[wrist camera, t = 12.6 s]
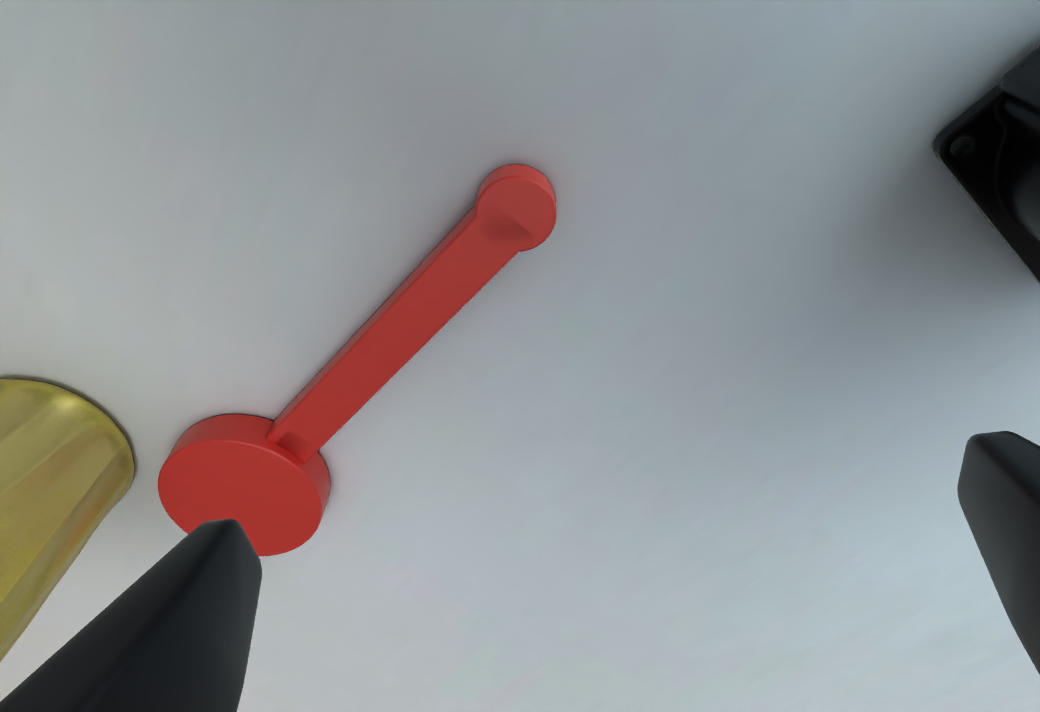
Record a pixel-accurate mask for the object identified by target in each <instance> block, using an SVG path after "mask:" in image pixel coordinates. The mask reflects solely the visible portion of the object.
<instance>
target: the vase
mask: <svg viewBox="0 0 1040 712" xmlns="http://www.w3.org/2000/svg"><path fill="white" fill-rule="evenodd" d="M133 476H134V461H133V456H132V452H131V449H130V446H129V444H128V442H127V440H126V438H125V437H124V435H123V433H122V432H121V431H120V430H119V428H118V427H117V426H116V425H115V423H114V422H113V421H112V420H111V419H110V418H109V417H108V416H107V415H106V414H105V413H103V412H102V411H101V410H100V409H98V408H97V407H96V406H94V405H93V404H91V403H90V402H88V401H87V400H85V399H83V398H81V397H80V396H78V395H76V394H74V393H72V392H70V391H67V390H65V389H63V388H60V387H57V386H54V385H51V384H47V383H43V382H37V381H31V380H18V379H0V662H1V661H2V659H3V658H4V657H5V655H6V654H7V653H8V651H9V650H10V649H11V647H12V646H13V645H14V643H15V642H16V641H17V640H18V638H19V637H20V636H21V634H22V633H23V632H24V630H25V629H26V628H27V626H28V625H29V624H30V622H31V621H32V619H33V618H34V616H35V615H36V614H37V612H38V611H39V609H40V608H41V606H42V605H43V603H44V602H45V600H46V599H47V597H48V596H49V594H50V593H51V591H52V590H53V589H54V587H55V586H56V585H57V583H58V582H59V581H60V579H61V578H62V577H63V575H64V574H65V573H66V571H67V570H68V569H69V567H70V566H71V564H72V563H73V562H74V560H75V559H76V557H77V556H78V555H79V553H80V552H81V550H82V549H83V547H84V546H85V544H86V542H87V541H88V539H89V538H90V537H91V535H92V534H93V532H94V531H95V529H96V528H97V527H98V525H99V524H100V523H101V521H102V520H103V519H104V517H105V516H106V515H107V514H108V513H109V511H110V510H111V509H112V508H113V507H114V506H115V505H116V504H117V503H118V502H119V501H120V500H121V498H122V497H123V496H124V495H125V494H126V492H127V491H128V489H129V487H130V485H131V483H132V481H133Z"/></svg>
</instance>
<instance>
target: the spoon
mask: <svg viewBox="0 0 1040 712" xmlns="http://www.w3.org/2000/svg"><path fill="white" fill-rule="evenodd" d="M555 221H556V199H555V193H554V190H553V187H552V185H551V184H550V182H549V181H548V179H547V178H546V177H545V176H544V175H543V174H542V173H541V172H539V171H538V170H536V169H534V168H532V167H529V166H526V165H520V164H513V165H506V166H503V167H500V168H498V169H496V170H494V171H493V172H491V173H490V174H489V175H488V176H487V177H486V178H485V179H484V181H483V182H482V184H481V186H480V188H479V191H478V195H477V201H476V205H475V206H474V207H473V208H472V209H471V210H470V211H469V212H468V213H467V214H466V216H465V217H464V218H463V219H462V220H461V221H460V222H459V223H458V224H457V225H456V226H455V227H454V228H453V229H452V231H451V232H450V233H449V234H448V235H447V236H446V237H445V238H444V239H443V240H442V241H441V242H440V243H439V244H438V245H437V247H436V248H435V249H434V250H433V251H432V252H431V253H430V254H429V255H428V256H427V257H426V258H425V259H424V260H423V262H422V263H421V264H420V265H419V266H418V267H417V268H416V269H415V270H414V271H413V272H412V273H411V274H410V275H409V277H408V278H407V279H406V280H405V281H404V282H403V283H402V284H401V285H400V286H399V287H398V288H397V289H396V290H395V292H394V293H393V294H392V295H391V296H390V297H389V298H388V299H387V300H386V301H385V302H384V303H383V304H382V305H381V307H380V308H379V309H378V310H377V311H376V312H375V313H374V314H373V315H372V316H371V317H370V318H369V319H368V320H367V322H366V323H365V324H364V325H363V326H362V327H361V328H360V329H359V330H358V331H357V332H356V333H355V334H354V335H353V336H352V338H351V339H350V340H349V341H348V342H347V343H346V344H345V345H344V346H343V347H342V348H341V349H340V350H339V351H338V353H337V354H336V355H335V356H334V357H333V358H332V359H331V360H330V361H329V362H328V363H327V364H326V365H325V366H324V368H323V369H322V370H321V371H320V372H319V373H318V374H317V375H316V376H315V377H314V378H313V379H312V380H311V381H310V383H309V384H308V385H307V386H306V387H305V388H304V389H303V390H302V391H301V392H300V393H299V394H298V395H297V396H296V398H295V399H294V400H293V401H292V402H291V403H290V404H289V405H288V406H287V407H286V408H285V409H284V410H283V411H282V413H281V414H280V415H279V416H278V417H277V418H276V419H275V420H274V421H271V420H268V419H265V418H261V417H256V416H250V415H237V414H231V415H221V416H216V417H211V418H208V419H205V420H203V421H201V422H199V423H197V424H195V425H193V426H192V427H190V428H189V429H188V430H187V431H186V432H185V433H183V434H182V436H181V437H180V439H179V440H178V441H177V443H176V445H175V446H174V448H173V450H172V451H171V453H170V454H169V456H168V458H167V459H166V461H165V463H164V464H163V466H162V468H161V470H160V473H159V478H158V492H159V497H160V500H161V502H162V505H163V507H164V508H165V510H166V512H167V513H168V515H169V516H170V517H171V519H172V520H173V521H174V522H175V523H176V524H177V525H178V526H179V527H180V528H181V529H183V530H184V531H185V532H186V533H188V534H190V533H191V532H192V531H193V530H194V529H195V528H196V527H198V526H199V525H200V524H201V523H203V522H206V521H211V520H220V519H229V518H231V519H235V520H237V521H238V522H239V523H240V524H241V526H242V527H243V529H244V531H245V533H246V535H247V537H248V539H249V540H250V542H251V544H252V546H253V548H254V550H255V551H256V553H257V555H258V556H271V555H277V554H281V553H285V552H288V551H291V550H293V549H295V548H297V547H299V546H301V545H302V544H304V543H305V542H306V541H308V540H309V539H310V538H311V537H312V535H313V534H314V533H315V532H316V530H317V528H318V526H319V524H320V521H321V518H322V515H323V512H324V509H325V506H326V503H327V500H328V497H329V493H330V477H329V472H328V469H327V466H326V464H325V462H324V460H323V458H322V457H321V456H320V454H319V453H318V450H319V449H320V448H321V447H322V446H323V445H324V444H325V443H326V442H327V441H328V440H329V439H330V438H331V437H332V436H333V435H334V434H335V433H336V432H337V431H338V430H339V429H340V428H341V427H342V426H343V425H344V424H345V423H346V422H347V421H348V420H349V419H350V418H351V417H352V416H353V415H354V414H355V413H356V412H357V411H358V410H359V409H360V408H361V407H362V406H363V405H364V404H365V403H366V402H367V401H368V400H369V399H370V398H371V397H372V396H373V395H374V394H375V393H376V392H377V391H378V390H379V389H380V388H381V387H382V386H383V385H384V384H386V383H387V382H388V381H389V380H390V379H391V378H392V377H393V376H394V375H395V374H396V373H397V372H398V371H399V370H400V369H401V368H402V367H403V366H404V365H405V364H406V363H407V362H408V361H409V360H410V359H411V358H412V357H413V356H414V355H415V354H416V353H417V352H418V351H419V350H420V349H421V348H422V347H423V346H424V345H425V344H426V343H427V342H428V341H429V340H430V339H431V338H432V337H433V336H434V335H435V334H436V333H437V332H438V331H439V330H440V329H441V328H442V327H443V326H444V325H445V324H446V323H447V322H448V321H449V320H450V319H451V318H452V317H453V316H454V315H455V314H456V313H457V312H458V311H459V310H460V309H461V308H462V307H463V306H464V305H465V304H466V303H467V302H468V301H469V300H470V299H471V298H472V297H473V296H474V295H475V294H476V293H477V292H478V291H479V290H480V289H481V288H482V287H483V286H484V285H485V284H486V283H487V282H488V281H489V280H490V279H491V278H492V277H493V276H494V275H495V274H496V273H497V272H498V271H499V270H500V269H501V268H503V267H504V266H505V265H506V264H507V263H508V262H509V261H510V260H511V259H512V258H513V257H514V256H515V255H516V254H517V253H518V252H521V251H527V250H530V249H532V248H535V247H537V246H538V245H540V244H541V243H542V242H544V241H545V240H546V239H547V238H548V236H549V235H550V233H551V232H552V230H553V228H554V225H555Z"/></svg>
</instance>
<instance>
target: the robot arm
mask: <svg viewBox="0 0 1040 712" xmlns="http://www.w3.org/2000/svg"><path fill="white" fill-rule="evenodd" d="M962 137H963V138H964V141H963V144H962V145H961V147H960V148H959V149H957V150H955V151H953V152H950V148H951V145H952V144H953V142H954V141H955V140H957V139H959V138H962ZM933 150H934V153H935V155H936V157H937V158H938V159H939V160H940V162H941V163H942V164H943V165H944V167H945V168H946V169H947V170H948V172H949V173H950V174H951V175H952V177H953V178H954V179H955V180H956V182H957V183H958V184H959V185H960V187H961V188H962V189H963V190H964V191H965V193H966V194H967V195H968V196H969V198H970V199H971V200H972V201H973V203H974V204H975V205H976V206H977V208H978V209H979V210H980V211H981V213H982V214H983V215H984V216H985V218H986V219H987V220H988V221H989V223H990V224H991V225H992V226H993V228H994V229H995V230H996V231H997V232H998V234H999V235H1000V236H1001V237H1002V239H1003V240H1004V241H1005V242H1006V244H1007V245H1008V246H1009V247H1010V249H1011V250H1012V251H1013V252H1014V254H1015V255H1016V256H1017V257H1018V259H1019V260H1020V261H1021V262H1022V264H1023V265H1024V266H1025V267H1026V269H1027V270H1028V271H1029V272H1030V273H1031V275H1032V276H1033V277H1034V278H1035V280H1036V281H1037V282H1038V283H1039V284H1040V47H1039V48H1037V49H1036V50H1035V51H1034V52H1032V53H1031V54H1030V55H1029V56H1027V57H1026V58H1025V59H1024V60H1022V61H1021V62H1020V63H1019V64H1017V65H1016V66H1015V67H1014V68H1013V69H1011V70H1010V71H1009V72H1008V73H1006V74H1005V76H1004V78H1003V80H1002V82H1001V83H1000V84H999V85H998V86H996V87H995V88H994V89H993V90H991V91H990V92H989V93H988V94H986V95H985V96H984V97H983V98H981V99H980V100H979V101H978V102H976V103H975V104H974V105H973V106H971V107H970V108H969V109H968V110H967V111H965V112H964V113H963V114H962V115H960V116H959V117H958V118H957V119H955V120H954V121H953V122H952V123H950V124H949V125H948V126H947V127H945V128H944V129H943V130H942V131H941V132H940V133H939V134H938V135H937V137H936V139H935V142H934V148H933ZM958 498H959V502H960V505H961V508H962V510H963V512H964V515H965V517H966V519H967V522H968V524H969V526H970V529H971V531H972V533H973V536H974V538H975V541H976V543H977V545H978V548H979V550H980V552H981V555H982V557H983V559H984V562H985V564H986V566H987V569H988V571H989V573H990V576H991V578H992V580H993V583H994V585H995V587H996V590H997V592H998V595H999V597H1000V599H1001V602H1002V604H1003V606H1004V608H1005V610H1006V613H1007V615H1008V617H1009V619H1010V621H1011V624H1012V625H1013V627H1014V629H1015V631H1016V633H1017V635H1018V637H1019V639H1020V640H1021V642H1022V644H1023V646H1024V648H1025V650H1026V651H1027V653H1028V655H1029V657H1030V658H1031V660H1032V662H1033V664H1034V665H1035V667H1036V669H1037V671H1038V673H1039V674H1040V446H1038V445H1037V444H1035V443H1033V442H1031V441H1029V440H1027V439H1025V438H1023V437H1021V436H1020V435H1018V434H1015V433H1013V432H1009V431H1000V432H991V433H982V434H976V435H973V436H972V437H970V439H969V440H968V442H967V445H966V449H965V453H964V458H963V463H962V467H961V472H960V477H959V481H958ZM261 579H262V567H261V562H260V559H259V557H258V555H257V553H256V551H255V550H254V548H253V546H252V544H251V542H250V540H249V539H248V537H247V535H246V533H245V531H244V529H243V527H242V526H241V524H240V523H239V522H238V521H237V520H235V519H231V518H229V519H220V520H211V521H206V522H203V523H201V524H200V525H199V526H198V527H196V528H195V529H194V530H193V531H192V532H191V533H190V534H189V535H187V536H186V537H185V538H184V539H183V540H182V541H181V542H180V543H178V544H177V545H176V546H175V547H174V548H173V549H172V550H171V551H169V552H168V553H167V554H166V555H165V556H164V557H163V558H162V559H160V560H159V561H158V562H157V563H156V564H155V565H154V566H153V567H151V568H150V569H149V570H148V571H147V572H146V573H145V574H144V575H142V576H141V577H140V578H139V579H138V580H137V581H136V582H135V583H133V584H132V585H131V586H130V587H129V588H128V589H127V590H126V591H124V592H123V593H122V594H121V595H120V596H119V597H118V598H117V599H115V600H114V601H113V602H112V603H111V604H110V605H109V606H108V607H106V608H105V609H104V610H103V611H102V612H101V613H100V614H99V615H98V616H96V617H95V618H94V619H93V620H92V621H91V622H90V623H89V624H87V625H86V626H85V627H84V628H83V629H82V630H81V631H80V632H78V633H77V634H76V635H75V636H74V637H73V638H72V639H71V640H69V641H68V642H67V643H66V644H65V645H64V646H63V647H62V648H60V649H59V650H58V651H57V652H56V653H55V654H54V655H53V656H51V657H50V658H49V659H48V660H47V661H46V662H45V663H44V664H42V665H41V666H40V667H39V668H38V669H37V670H36V671H35V672H33V673H32V674H31V675H30V676H29V677H28V678H27V679H26V680H24V681H23V682H22V683H21V684H20V685H19V686H18V687H17V688H15V689H14V690H13V691H12V692H11V693H10V694H9V695H8V696H6V697H5V698H4V699H3V700H2V701H1V702H0V712H237V708H238V704H239V700H240V696H241V693H242V688H243V683H244V678H245V673H246V668H247V662H248V656H249V650H250V644H251V639H252V633H253V627H254V621H255V615H256V609H257V603H258V597H259V591H260V585H261Z"/></svg>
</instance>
